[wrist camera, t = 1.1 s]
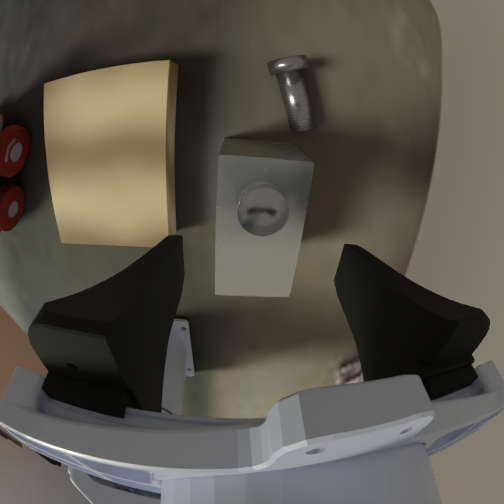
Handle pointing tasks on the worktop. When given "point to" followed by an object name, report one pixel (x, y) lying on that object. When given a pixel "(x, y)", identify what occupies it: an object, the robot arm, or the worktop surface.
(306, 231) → the worktop surface
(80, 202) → the tan wooden block
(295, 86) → the bolt
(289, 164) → the block
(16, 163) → the toy fire truck
